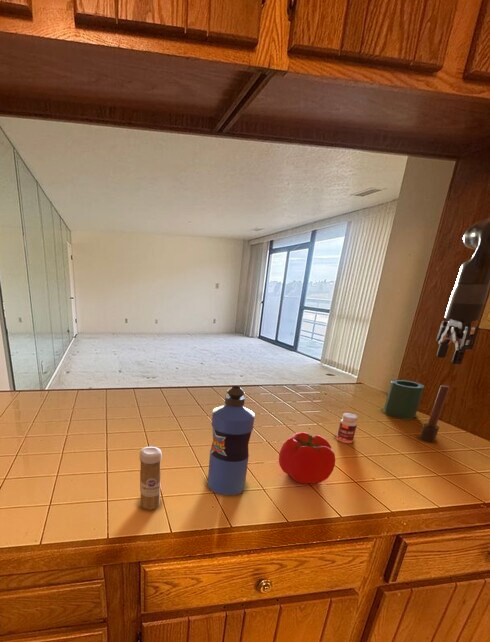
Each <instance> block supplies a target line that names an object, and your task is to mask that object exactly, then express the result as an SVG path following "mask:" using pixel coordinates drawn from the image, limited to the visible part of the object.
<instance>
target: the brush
mask: <svg viewBox="0 0 490 642" xmlns="http://www.w3.org/2000/svg"><path fill="white" fill-rule="evenodd" d="M449 391H450V386H449V385H444V384H441V385H440V387H439V389H438V392H437V394H436V398H435V401H434V404H433V407H432V410H431V412H430V416H429V418H428V422H427V423H426V422H425V423H423V426H422V428H421V431H420V434H419V440H420V441H422V442H426V443H435V441H436V438H437V436H438V433H439V430H440V426H438V423H439V419H440V416H441V413H442V410H443V408H444V404H445V401H446V399H447V396H448V393H449Z"/></svg>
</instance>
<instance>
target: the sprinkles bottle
mask: <svg viewBox="0 0 490 642" xmlns="http://www.w3.org/2000/svg"><path fill="white" fill-rule="evenodd" d="M139 461H140V470H139V471H140V472H139V489H140V490H139V491H140V501H139V505H140V507H142V509H145V510H150V511H151V510H156V509H157V508H159V507H160V505H161V475H162V473H161V471H162V470H161V462H162V449H160V448H159V447H156V446H145V447H142V448H141V449H140V450H139Z"/></svg>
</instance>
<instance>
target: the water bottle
mask: <svg viewBox="0 0 490 642" xmlns="http://www.w3.org/2000/svg"><path fill="white" fill-rule="evenodd" d="M226 393H227V394H226V395H225V397H224V405H221V406H217V407H214V408H213V409H212V414H211V426H212V427H211V428H212V442H211V447H210V451H209V461H208V471H207V473H208V474H207V486H208V488H209V490H211V491H212V492H214V493H215V494H218V495H220V496H224V495H225V496H235V495H239V494H241V493H243V492H244V491H245V489H246V481H247V473H248V465H249V457H250V454H249V443H250V440H251V436H252V432H253V430H254V425H255V424H254V423H255V415H256V414H255V412H253V411H252V410H250V409H249V408H246V407H245V406H244V405H245V401H246V398H245V396H244V395H245V393H246V392H245V391H244V390H243V388H241V387H240V386H238V385H233V386H231V387H230V388H228V390H227V391H226Z"/></svg>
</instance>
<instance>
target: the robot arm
mask: <svg viewBox="0 0 490 642" xmlns="http://www.w3.org/2000/svg"><path fill="white" fill-rule="evenodd" d="M462 240H463V241H462V242H463V244H464V247H466V248H468V249H470V250H475V252H474V253H473V254H472V257H471V258H470V259H468V260H466V261H465V262H463V263H462V264H461V266H460V268H459V272H458V275H457V278H456V281H455V284H454V287H453V290H452V291H451V295H450V297H449V301H448V304H447V307H446V311H445V314H444V319H446V320H442V321H441V322H440V326H439V329H438V333H437V336H436V339H435V340H436V342H438V348H437V351H436V355H435V356H436V357H437V358H438V359H439V358H440V359H441V358H442V359H443V358H446V356H447V353H448V350H449V347H450V344H451V343H453V344H454V347H455V350H454V352H453V355H452V358H451V361H450V363H451V364H453V365H461V364H462V362H463V360H464V357H465V354H466V352H467V351H471V350H473V349H474V347H475V343H476V339H477V336H478V333H479V329H480V327H479V326H472V323H473V322H476V321H479V320H480V318H481V315H482V312H483V309H484V306H485V303H486V300H487V297H488V294H489V289H490V217H488V218H485V219H481V220H479V221H476V222H475V223H472V225H470V226H469V227H468V228H467V230H466V231H465V232H464V234H463V237H462Z"/></svg>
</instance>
